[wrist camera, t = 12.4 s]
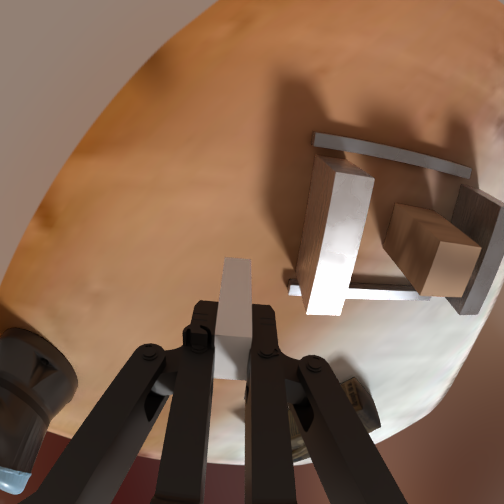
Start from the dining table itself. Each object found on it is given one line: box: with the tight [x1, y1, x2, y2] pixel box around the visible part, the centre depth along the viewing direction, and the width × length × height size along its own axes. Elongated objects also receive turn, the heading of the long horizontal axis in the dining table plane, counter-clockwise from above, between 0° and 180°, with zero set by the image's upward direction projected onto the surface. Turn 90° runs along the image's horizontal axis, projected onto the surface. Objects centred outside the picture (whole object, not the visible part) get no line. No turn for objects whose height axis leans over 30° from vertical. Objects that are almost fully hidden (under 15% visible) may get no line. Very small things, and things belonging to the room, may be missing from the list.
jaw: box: [295, 155, 375, 315], centre depth 27 cm, size 3×12×7 cm, turn 174°
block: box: [383, 203, 482, 297], centre depth 27 cm, size 5×5×9 cm
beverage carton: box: [288, 377, 381, 463], centre depth 42 cm, size 8×19×7 cm, turn 128°
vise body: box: [287, 131, 504, 315], centre depth 27 cm, size 20×16×7 cm
